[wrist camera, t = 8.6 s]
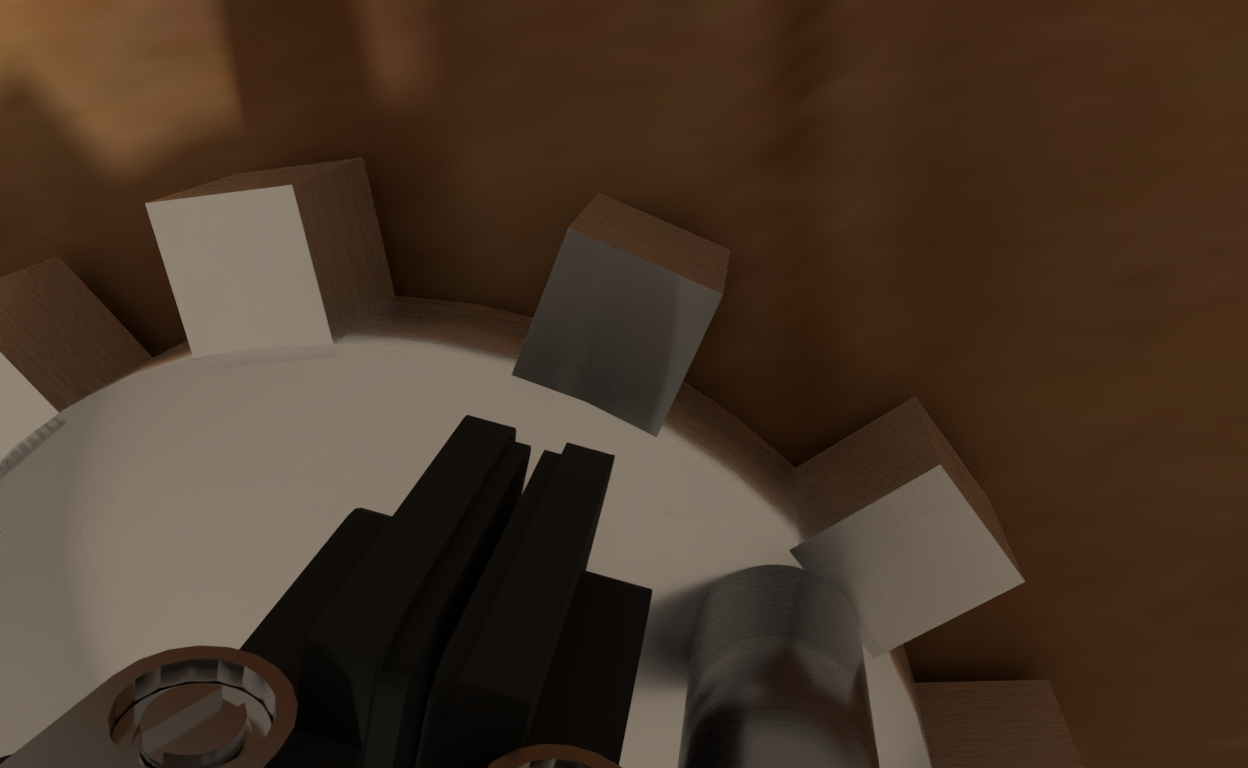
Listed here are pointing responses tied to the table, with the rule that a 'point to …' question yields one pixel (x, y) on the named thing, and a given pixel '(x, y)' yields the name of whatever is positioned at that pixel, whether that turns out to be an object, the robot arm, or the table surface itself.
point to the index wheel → (546, 420)
